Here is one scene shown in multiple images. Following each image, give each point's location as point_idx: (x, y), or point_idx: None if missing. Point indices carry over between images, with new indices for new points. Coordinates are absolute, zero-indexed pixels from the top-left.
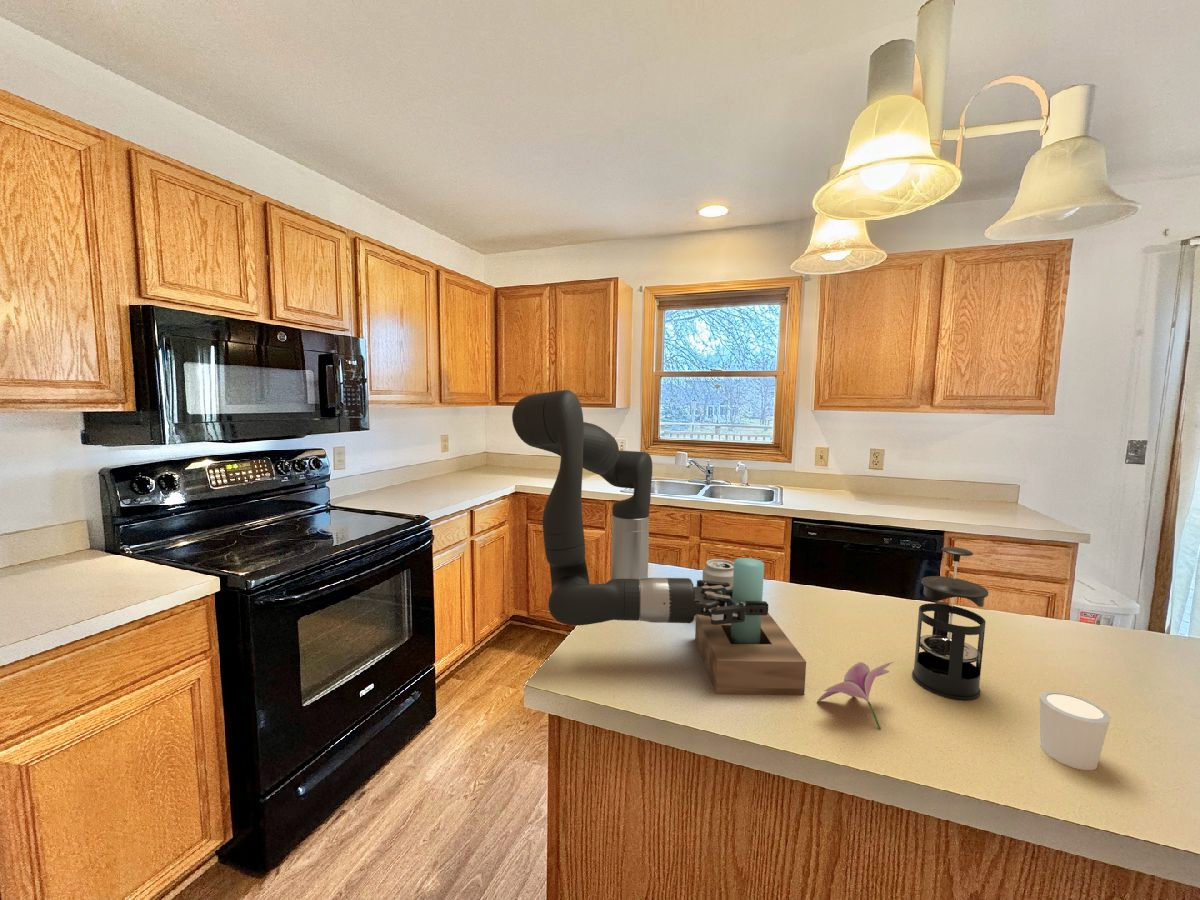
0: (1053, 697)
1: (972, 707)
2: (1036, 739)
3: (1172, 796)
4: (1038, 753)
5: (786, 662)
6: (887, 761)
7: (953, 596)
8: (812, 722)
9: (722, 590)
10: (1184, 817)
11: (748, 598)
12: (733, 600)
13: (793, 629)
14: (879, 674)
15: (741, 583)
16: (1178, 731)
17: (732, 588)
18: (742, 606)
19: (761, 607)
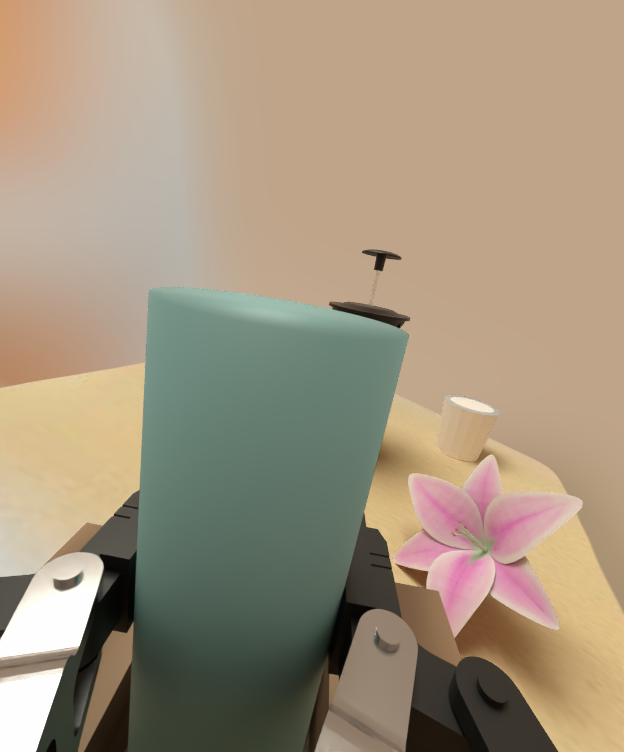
0: (459, 404)
1: (389, 455)
2: (438, 452)
3: (487, 440)
4: (465, 464)
5: (459, 659)
6: (605, 631)
7: (401, 321)
8: (551, 730)
9: (55, 720)
10: (513, 450)
11: (349, 567)
12: (359, 712)
13: (90, 509)
14: (423, 489)
15: (348, 507)
16: (395, 395)
17: (89, 584)
18: (505, 686)
19: (387, 553)
